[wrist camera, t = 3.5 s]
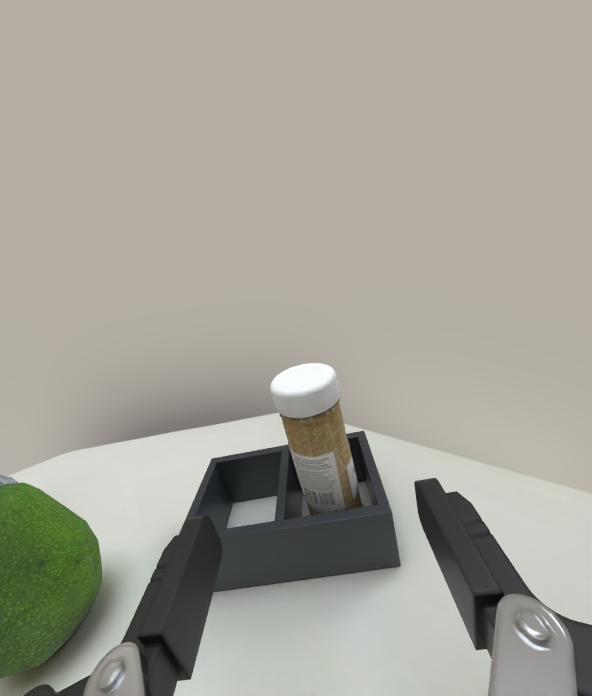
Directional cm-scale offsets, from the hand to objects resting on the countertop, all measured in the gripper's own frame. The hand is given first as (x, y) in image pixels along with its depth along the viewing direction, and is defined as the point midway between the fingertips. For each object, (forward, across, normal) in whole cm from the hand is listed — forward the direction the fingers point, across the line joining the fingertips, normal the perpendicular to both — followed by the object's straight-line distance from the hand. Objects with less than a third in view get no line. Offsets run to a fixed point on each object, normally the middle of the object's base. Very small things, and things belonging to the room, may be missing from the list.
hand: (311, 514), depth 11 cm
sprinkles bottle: (+9, 0, +12) cm, 15 cm away
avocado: (+4, +21, +12) cm, 25 cm away
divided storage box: (+9, +4, +12) cm, 15 cm away
